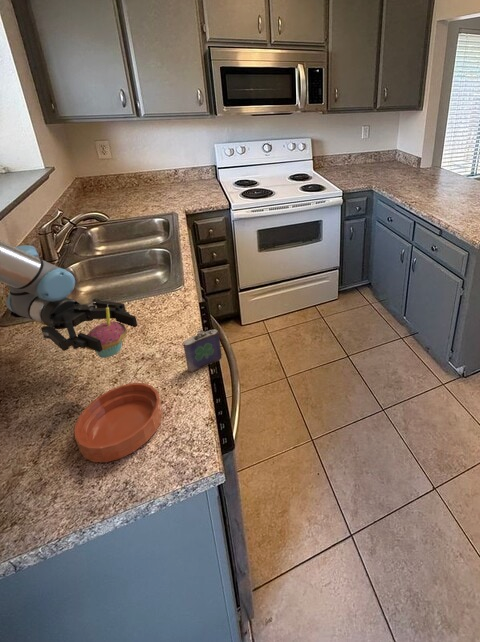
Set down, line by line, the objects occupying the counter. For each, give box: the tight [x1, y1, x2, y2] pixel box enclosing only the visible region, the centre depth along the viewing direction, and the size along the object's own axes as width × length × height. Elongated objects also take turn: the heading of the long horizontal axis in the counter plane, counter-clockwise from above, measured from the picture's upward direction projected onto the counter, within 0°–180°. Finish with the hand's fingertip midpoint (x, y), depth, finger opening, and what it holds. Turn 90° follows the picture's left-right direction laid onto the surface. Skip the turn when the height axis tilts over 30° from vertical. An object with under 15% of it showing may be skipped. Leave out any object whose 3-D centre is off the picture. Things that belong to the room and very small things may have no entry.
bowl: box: [74, 382, 163, 463], centre depth 78 cm, size 16×16×4 cm
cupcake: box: [85, 304, 127, 359], centre depth 84 cm, size 9×8×12 cm
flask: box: [182, 328, 223, 373], centre depth 95 cm, size 9×3×11 cm, turn 125°
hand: (118, 333), depth 82 cm, fingers closed on cupcake, 8 cm apart
